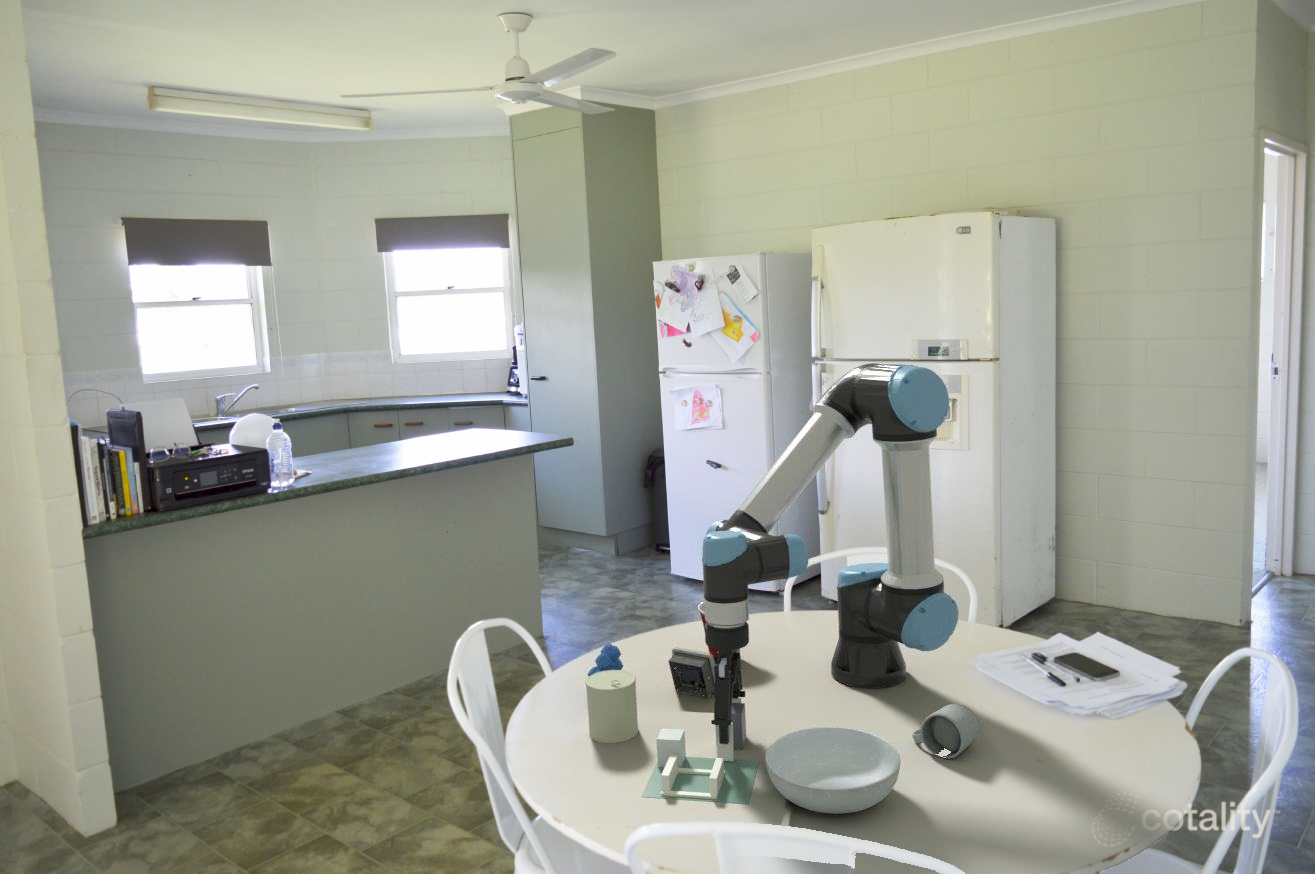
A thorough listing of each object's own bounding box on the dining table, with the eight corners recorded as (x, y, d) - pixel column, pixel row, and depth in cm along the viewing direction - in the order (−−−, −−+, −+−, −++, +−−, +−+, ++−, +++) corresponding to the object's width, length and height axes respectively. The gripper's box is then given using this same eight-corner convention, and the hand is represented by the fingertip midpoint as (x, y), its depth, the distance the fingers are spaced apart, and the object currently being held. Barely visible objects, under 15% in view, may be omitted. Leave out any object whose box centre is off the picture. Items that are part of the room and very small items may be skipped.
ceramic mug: (982, 745, 167) (981, 703, 166) (963, 764, 161) (961, 720, 160) (924, 731, 174) (923, 690, 173) (903, 748, 168) (902, 706, 167)
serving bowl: (785, 757, 167) (784, 719, 166) (910, 774, 159) (909, 734, 158) (750, 818, 148) (748, 776, 147) (889, 842, 140) (888, 797, 139)
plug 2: (746, 745, 172) (744, 703, 170) (743, 757, 167) (741, 714, 166) (719, 744, 173) (717, 701, 171) (715, 756, 168) (713, 712, 167)
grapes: (600, 690, 199) (596, 634, 197) (631, 693, 197) (627, 636, 195) (577, 714, 188) (573, 655, 186) (609, 717, 186) (606, 657, 184)
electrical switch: (721, 692, 195) (717, 649, 193) (708, 704, 191) (704, 661, 189) (681, 684, 200) (677, 642, 198) (668, 695, 196) (663, 653, 194)
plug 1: (685, 757, 165) (684, 729, 164) (681, 768, 161) (679, 740, 161) (663, 755, 166) (661, 728, 165) (657, 766, 162) (656, 738, 162)
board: (759, 769, 163) (758, 743, 162) (748, 812, 149) (747, 785, 149) (660, 763, 167) (659, 738, 166) (641, 805, 153) (640, 778, 152)
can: (601, 755, 171) (597, 691, 169) (581, 736, 179) (577, 674, 177) (648, 742, 175) (644, 679, 173) (626, 723, 183) (622, 663, 181)
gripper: (715, 602, 178) (718, 719, 180) (693, 641, 156) (697, 774, 158) (756, 604, 176) (759, 721, 178) (739, 643, 154) (743, 777, 156)
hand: (730, 746), depth 168 cm, fingers open, 10 cm apart
